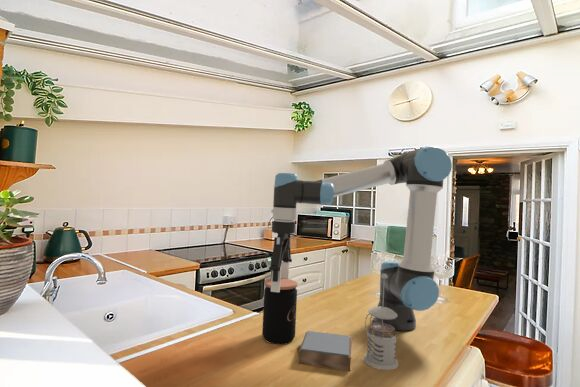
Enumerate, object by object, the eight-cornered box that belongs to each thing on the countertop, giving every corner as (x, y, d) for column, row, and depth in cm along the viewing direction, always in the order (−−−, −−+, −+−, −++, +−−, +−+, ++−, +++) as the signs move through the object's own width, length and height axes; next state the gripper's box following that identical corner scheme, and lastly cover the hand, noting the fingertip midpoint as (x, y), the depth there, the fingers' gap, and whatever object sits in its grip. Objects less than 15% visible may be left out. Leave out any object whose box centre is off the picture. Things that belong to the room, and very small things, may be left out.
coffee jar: (291, 347, 103) (294, 288, 103) (257, 342, 105) (260, 284, 105) (297, 333, 113) (300, 280, 114) (267, 329, 116) (269, 277, 116)
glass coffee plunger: (377, 372, 90) (381, 278, 91) (352, 353, 101) (356, 269, 101) (406, 366, 94) (409, 276, 94) (379, 348, 105) (382, 267, 105)
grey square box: (350, 348, 104) (351, 335, 104) (350, 371, 90) (350, 355, 90) (305, 342, 107) (306, 330, 107) (298, 363, 93) (299, 349, 93)
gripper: (280, 218, 123) (277, 276, 122) (262, 222, 98) (258, 295, 98) (301, 219, 121) (297, 278, 121) (287, 224, 97) (283, 298, 96)
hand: (280, 286), depth 109 cm, fingers open, 13 cm apart
